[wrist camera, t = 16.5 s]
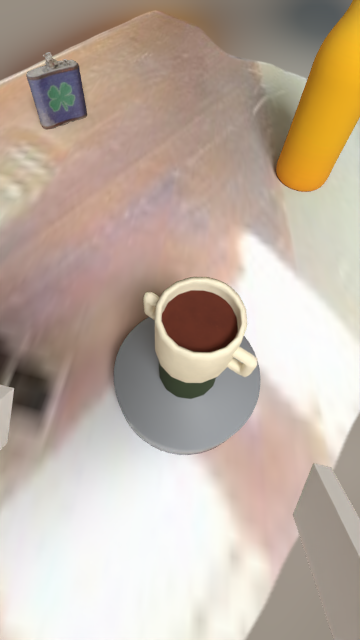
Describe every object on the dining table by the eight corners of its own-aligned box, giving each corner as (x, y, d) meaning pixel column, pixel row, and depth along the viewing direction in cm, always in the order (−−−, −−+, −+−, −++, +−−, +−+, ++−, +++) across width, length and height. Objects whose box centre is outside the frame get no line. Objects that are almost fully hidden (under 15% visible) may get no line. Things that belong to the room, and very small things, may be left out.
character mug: (246, 374, 37) (287, 318, 25) (212, 429, 34) (241, 393, 22) (165, 322, 39) (169, 250, 28) (127, 369, 36) (114, 310, 25)
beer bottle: (265, 178, 60) (347, -61, 34) (287, 152, 64) (375, -81, 38) (312, 201, 58) (436, -36, 32) (332, 172, 62) (457, -59, 36)
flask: (45, 131, 62) (25, 65, 53) (38, 123, 63) (17, 57, 54) (90, 117, 65) (78, 52, 56) (83, 109, 66) (70, 44, 57)
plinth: (112, 335, 43) (107, 317, 39) (231, 319, 46) (238, 300, 41) (125, 467, 36) (121, 463, 32) (265, 440, 38) (279, 433, 34)
